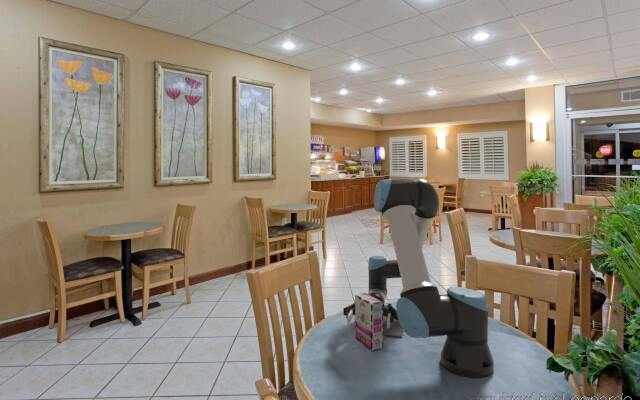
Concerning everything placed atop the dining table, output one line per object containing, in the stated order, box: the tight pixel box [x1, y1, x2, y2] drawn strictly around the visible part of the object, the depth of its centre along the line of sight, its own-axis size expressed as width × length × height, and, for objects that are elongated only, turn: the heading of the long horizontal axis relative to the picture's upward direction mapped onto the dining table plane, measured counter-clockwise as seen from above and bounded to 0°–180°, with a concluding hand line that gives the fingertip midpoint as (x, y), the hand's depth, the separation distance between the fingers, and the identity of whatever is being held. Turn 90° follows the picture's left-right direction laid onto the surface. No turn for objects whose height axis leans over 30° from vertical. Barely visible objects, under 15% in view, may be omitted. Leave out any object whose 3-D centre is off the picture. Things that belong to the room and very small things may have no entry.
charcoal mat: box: [383, 316, 404, 339], centre depth 143 cm, size 17×22×1 cm
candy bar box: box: [354, 292, 384, 352], centre depth 126 cm, size 11×5×16 cm, turn 25°
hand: (367, 322), depth 123 cm, fingers open, 13 cm apart
